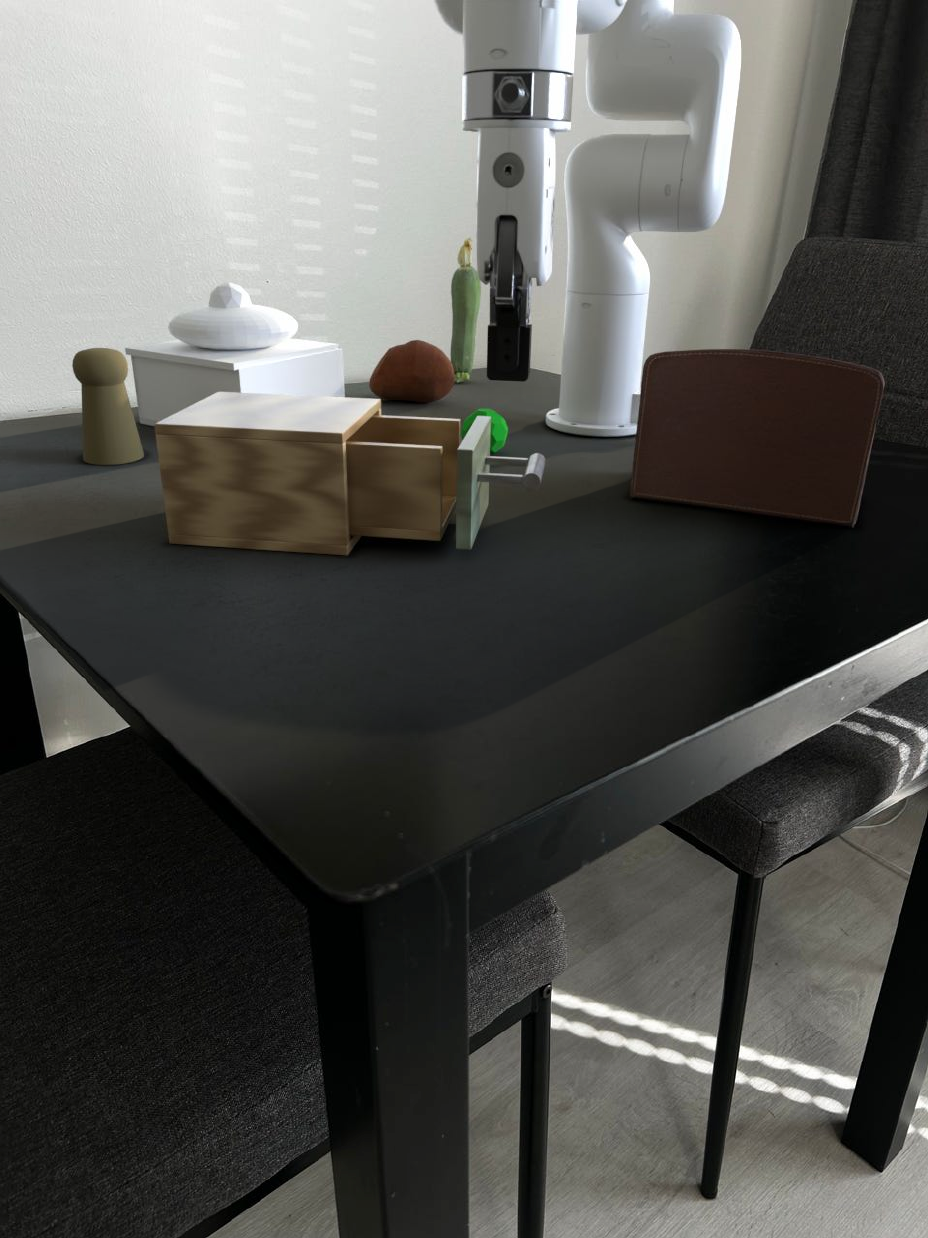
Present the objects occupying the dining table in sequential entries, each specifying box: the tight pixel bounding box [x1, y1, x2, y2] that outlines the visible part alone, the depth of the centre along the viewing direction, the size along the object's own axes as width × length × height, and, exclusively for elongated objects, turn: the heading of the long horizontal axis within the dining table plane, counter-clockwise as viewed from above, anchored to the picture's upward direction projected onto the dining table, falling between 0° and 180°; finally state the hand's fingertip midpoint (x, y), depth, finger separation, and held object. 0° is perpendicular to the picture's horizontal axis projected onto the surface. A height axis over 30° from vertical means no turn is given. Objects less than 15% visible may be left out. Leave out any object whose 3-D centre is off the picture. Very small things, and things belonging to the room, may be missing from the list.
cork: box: [71, 347, 145, 466], centre depth 93 cm, size 6×6×11 cm
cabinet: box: [153, 392, 382, 556], centre depth 75 cm, size 15×13×10 cm
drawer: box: [345, 414, 546, 551], centre depth 74 cm, size 18×11×8 cm, turn 82°
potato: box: [368, 339, 455, 403], centre depth 122 cm, size 8×12×8 cm, turn 88°
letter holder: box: [629, 348, 885, 528], centre depth 83 cm, size 10×20×14 cm, turn 68°
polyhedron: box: [460, 408, 509, 456], centre depth 98 cm, size 5×5×5 cm
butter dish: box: [124, 281, 346, 427], centre depth 108 cm, size 18×18×16 cm
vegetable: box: [449, 237, 482, 383], centre depth 133 cm, size 4×4×20 cm
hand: (508, 378), depth 70 cm, fingers closed
